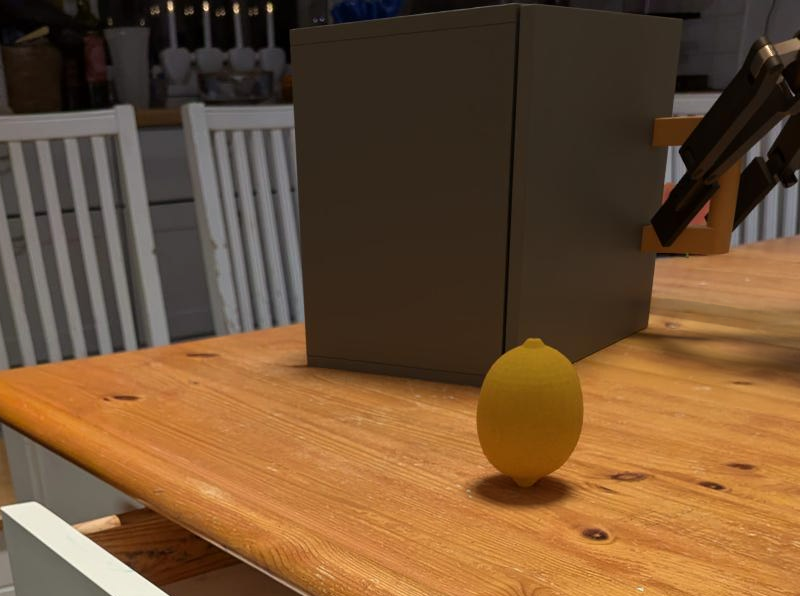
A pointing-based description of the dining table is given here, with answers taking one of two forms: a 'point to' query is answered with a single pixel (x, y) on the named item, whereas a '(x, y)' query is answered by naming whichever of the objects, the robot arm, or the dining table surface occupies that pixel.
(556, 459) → the lemon
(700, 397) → the dining table surface
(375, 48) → the cupboard
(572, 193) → the cupboard door
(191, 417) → the dining table surface
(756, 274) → the dining table surface
